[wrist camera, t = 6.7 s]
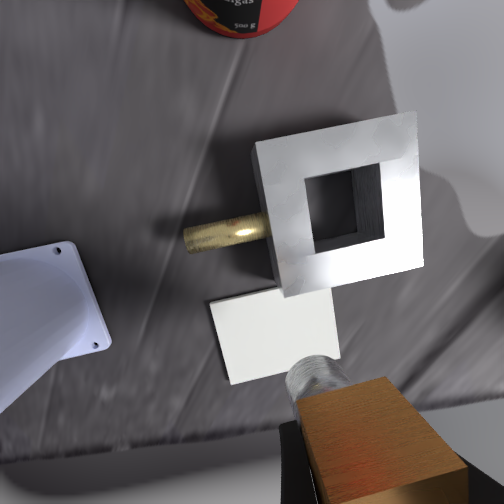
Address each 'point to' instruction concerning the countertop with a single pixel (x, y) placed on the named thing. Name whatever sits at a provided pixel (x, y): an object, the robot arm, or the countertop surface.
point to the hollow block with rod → (365, 200)
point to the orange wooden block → (369, 441)
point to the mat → (273, 331)
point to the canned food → (241, 15)
